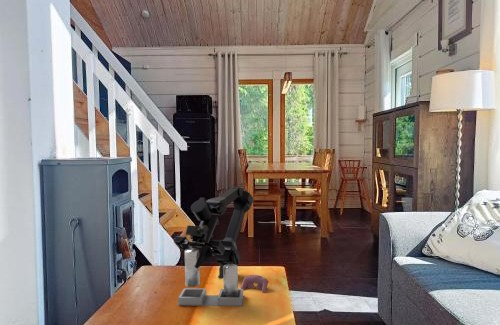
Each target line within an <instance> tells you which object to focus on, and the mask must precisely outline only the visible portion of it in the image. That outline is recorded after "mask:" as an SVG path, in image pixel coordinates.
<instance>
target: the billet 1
mask: <svg viewBox="0 0 500 325" xmlns="http://www.w3.org/2000/svg"><path fill="white" fill-rule="evenodd" d="M199 256H200V248H198V247H192V248H190V249H186V250H185V266H184V279H185V280H184V282H185V284H184V285H185V287H188V288H194V287H198V286H199V285H200V284H201V282H200V280H201V279H200V275H201V274H200V273H201V272H200V271H201V270H200V267H199V268H196V264H197V261H198V259H199Z"/></svg>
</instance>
